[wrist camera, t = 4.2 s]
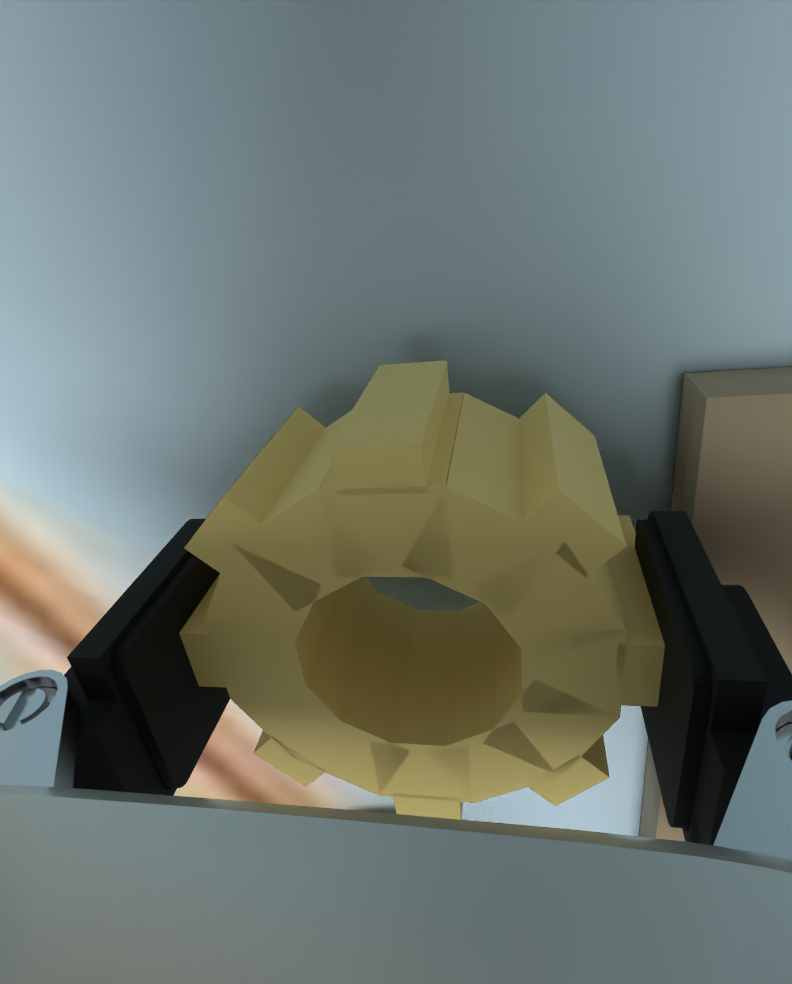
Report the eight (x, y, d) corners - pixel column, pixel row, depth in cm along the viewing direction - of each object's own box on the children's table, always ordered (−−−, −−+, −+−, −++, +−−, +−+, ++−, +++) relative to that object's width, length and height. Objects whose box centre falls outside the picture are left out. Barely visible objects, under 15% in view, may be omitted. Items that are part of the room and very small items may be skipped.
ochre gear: (214, 375, 11) (108, 456, 8) (642, 347, 10) (699, 433, 7) (293, 672, 15) (238, 803, 12) (616, 685, 14) (646, 838, 10)
